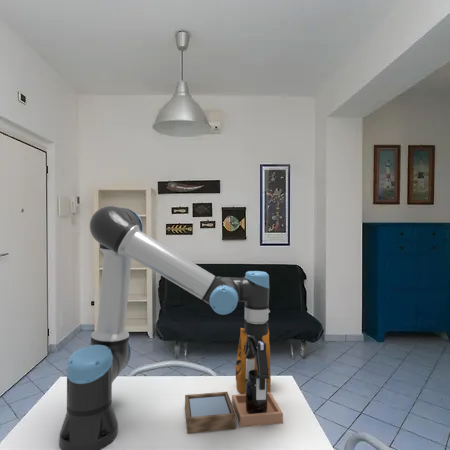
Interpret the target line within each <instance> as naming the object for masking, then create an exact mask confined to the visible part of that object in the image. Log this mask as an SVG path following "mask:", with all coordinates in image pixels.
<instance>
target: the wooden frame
mask: <svg viewBox="0 0 450 450" xmlns="http://www.w3.org/2000/svg"><path fill="white" fill-rule="evenodd" d="M218 396H224V397H225V400H226V403H227V406H228V409H229V412H230V413H229V414H218V415H207V416H196V417H191V413H190V404H189V399H193V398H206V397H218ZM184 411H185V412H184V413H185V421H186V422H185V425H186V433H187V434H194V433H206V432H214V431H224V430H225V431H227V430H234V429H236V428H237V427H236V425H237V423H236V422H237V416H236V414H235V411H234V408H233V405H232V399H231V398H230V395H229V392H228V391H218V392H216V391H215V392H208V393H207V392H205V393H193V394H184Z"/></svg>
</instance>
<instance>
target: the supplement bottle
mask: <svg viewBox="0 0 450 450" xmlns="http://www.w3.org/2000/svg"><path fill="white" fill-rule="evenodd" d="M256 376H258V374H257V370H251V371H249V376H248V380H247V381H246V411H247V412H248V413H249V414H257V413H266V412H267V383H266V400H257V399H256V384H257V379H256Z"/></svg>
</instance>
